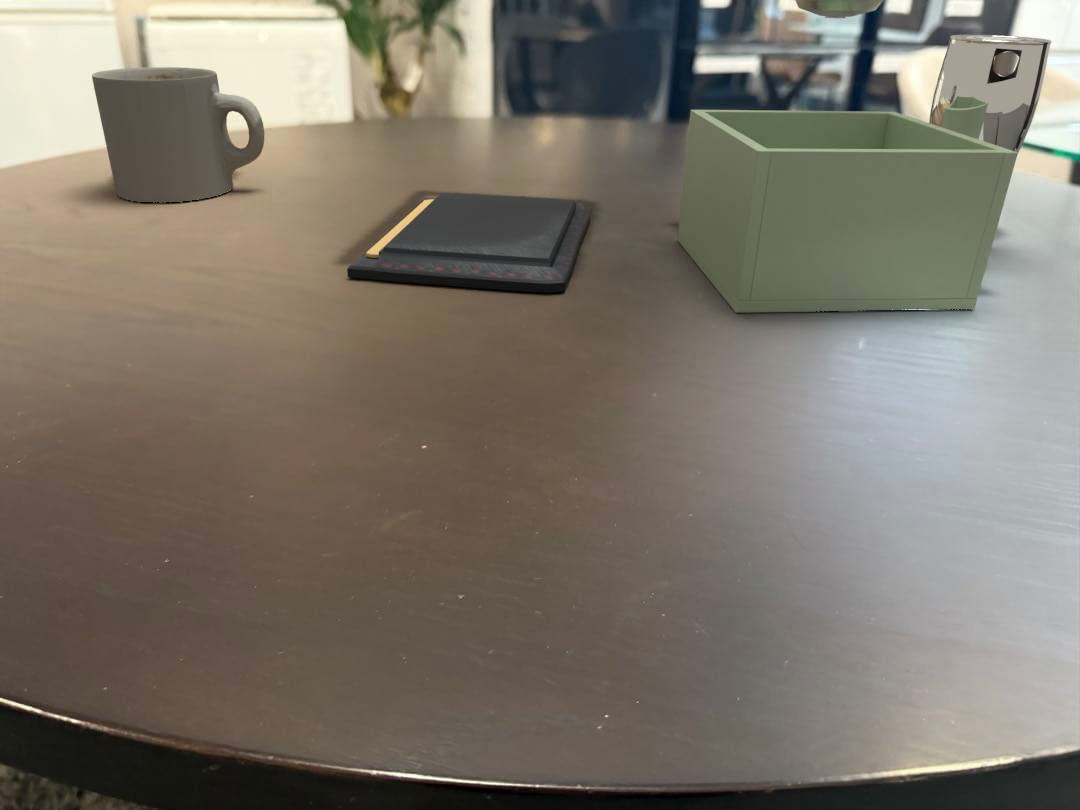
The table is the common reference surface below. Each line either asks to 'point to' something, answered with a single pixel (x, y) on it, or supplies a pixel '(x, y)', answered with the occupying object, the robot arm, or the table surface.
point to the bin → (839, 210)
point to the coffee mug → (172, 133)
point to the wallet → (480, 244)
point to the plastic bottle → (838, 7)
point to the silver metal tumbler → (990, 87)
